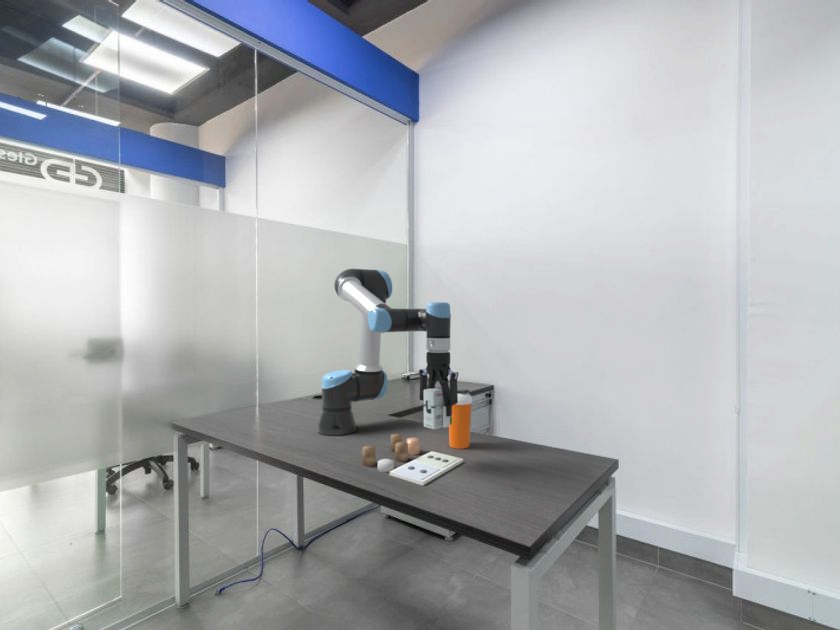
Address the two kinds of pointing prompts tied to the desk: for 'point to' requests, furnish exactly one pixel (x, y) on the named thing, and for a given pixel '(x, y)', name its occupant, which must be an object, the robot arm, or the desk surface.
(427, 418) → the ink box
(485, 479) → the desk surface
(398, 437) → the brown rounded capsule
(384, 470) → the light gray rounded ball
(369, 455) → the tan rounded capsule
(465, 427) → the shaker bottle
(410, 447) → the peach rounded capsule
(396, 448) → the brown rounded capsule
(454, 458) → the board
